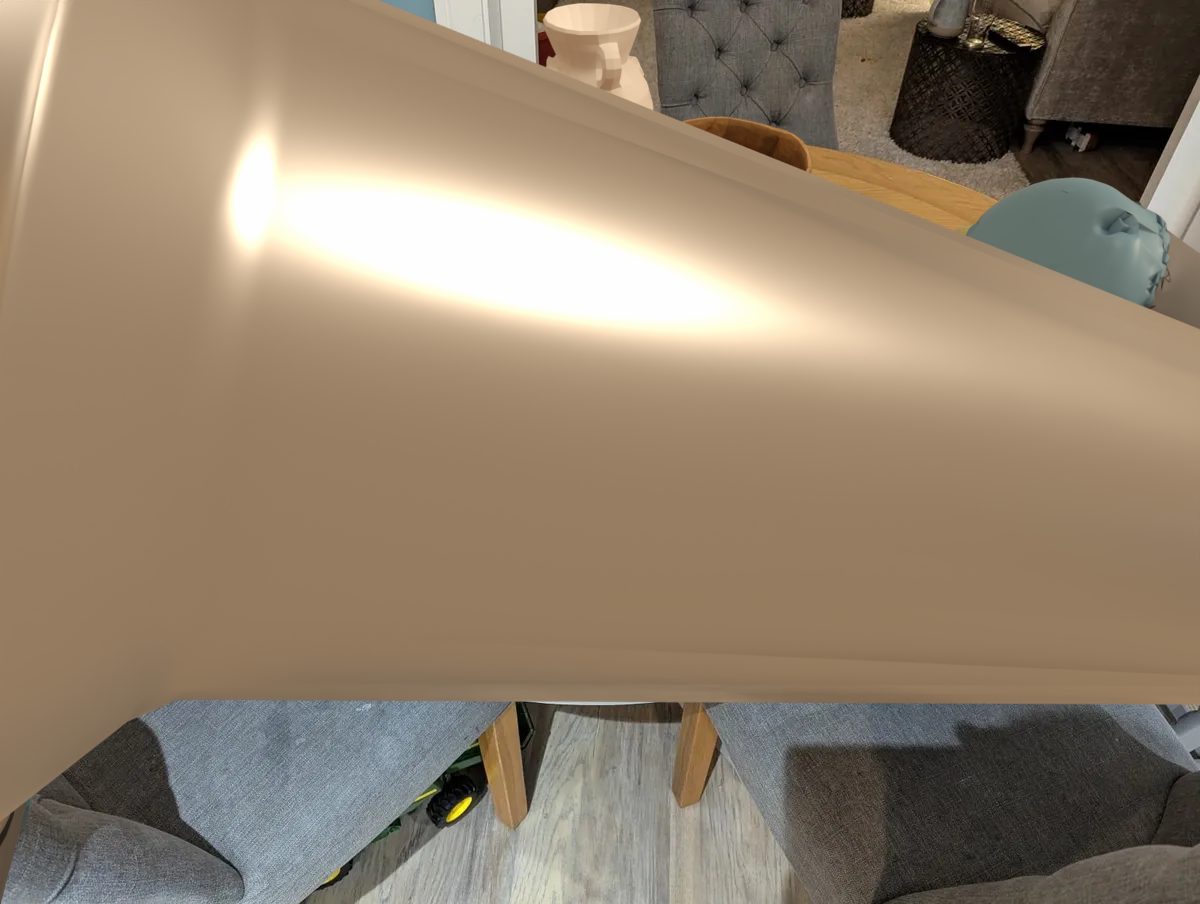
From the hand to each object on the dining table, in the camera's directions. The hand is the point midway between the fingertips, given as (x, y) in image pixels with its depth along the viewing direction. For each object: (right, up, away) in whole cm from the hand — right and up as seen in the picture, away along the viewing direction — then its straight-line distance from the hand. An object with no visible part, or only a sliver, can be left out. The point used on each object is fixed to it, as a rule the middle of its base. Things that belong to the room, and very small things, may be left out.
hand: (725, 507), depth 61 cm
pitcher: (-11, +46, +67) cm, 82 cm away
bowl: (+5, +24, +44) cm, 50 cm away
